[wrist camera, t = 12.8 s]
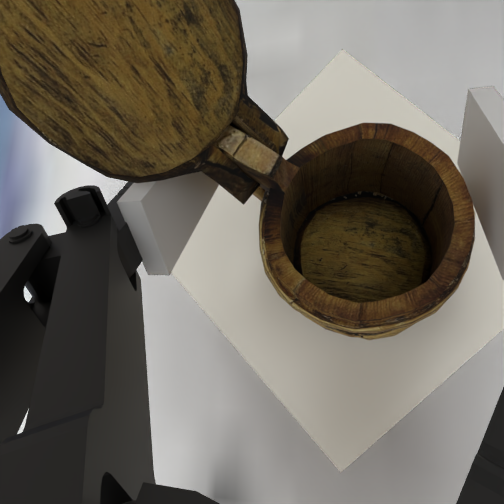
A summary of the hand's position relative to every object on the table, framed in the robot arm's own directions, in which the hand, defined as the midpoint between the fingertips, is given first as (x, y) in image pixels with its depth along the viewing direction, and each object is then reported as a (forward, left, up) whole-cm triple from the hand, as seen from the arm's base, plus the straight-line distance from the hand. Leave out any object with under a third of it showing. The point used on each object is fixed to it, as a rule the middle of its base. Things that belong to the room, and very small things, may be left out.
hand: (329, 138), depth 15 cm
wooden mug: (+2, +1, -8) cm, 9 cm away
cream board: (+2, +2, -10) cm, 10 cm away
